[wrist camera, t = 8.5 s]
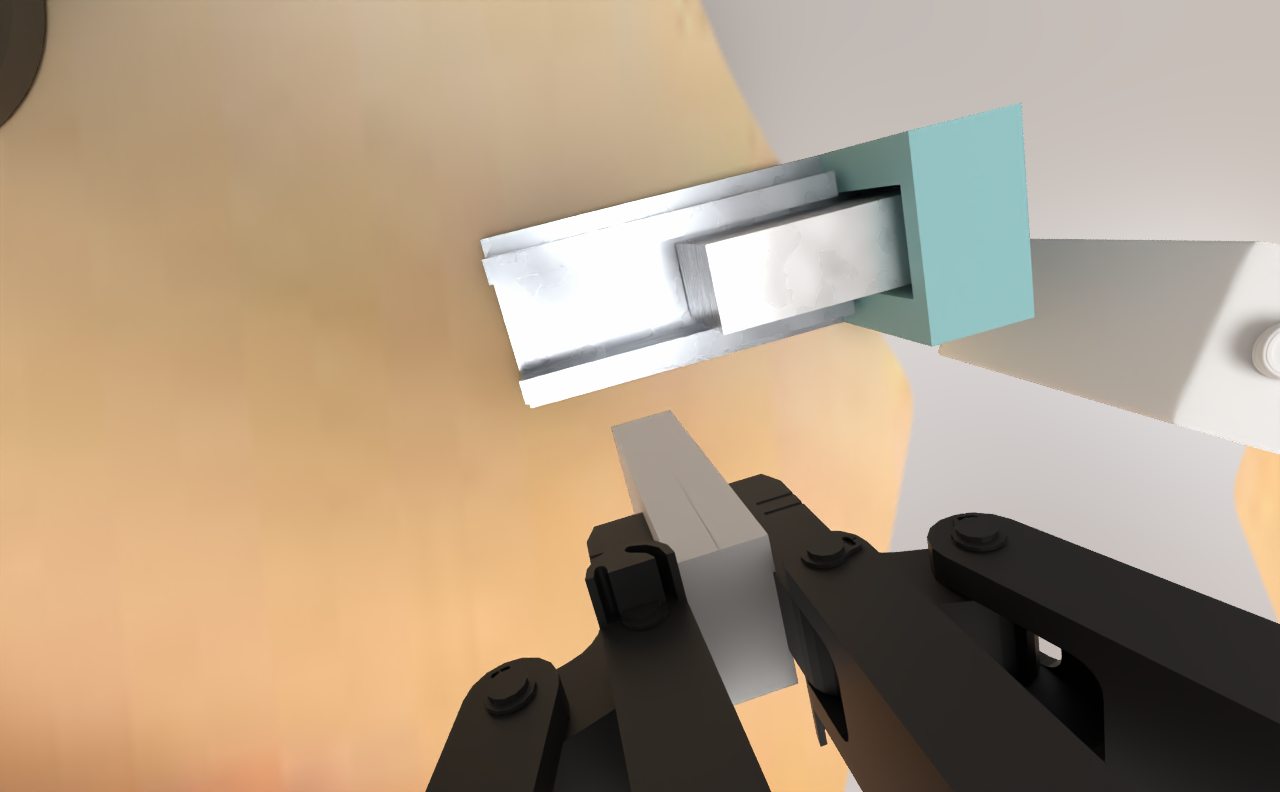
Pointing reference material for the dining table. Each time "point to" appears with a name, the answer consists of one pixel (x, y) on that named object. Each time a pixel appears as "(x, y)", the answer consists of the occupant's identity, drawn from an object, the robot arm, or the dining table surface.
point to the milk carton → (1152, 332)
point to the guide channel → (637, 282)
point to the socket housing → (950, 225)
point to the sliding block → (796, 262)
